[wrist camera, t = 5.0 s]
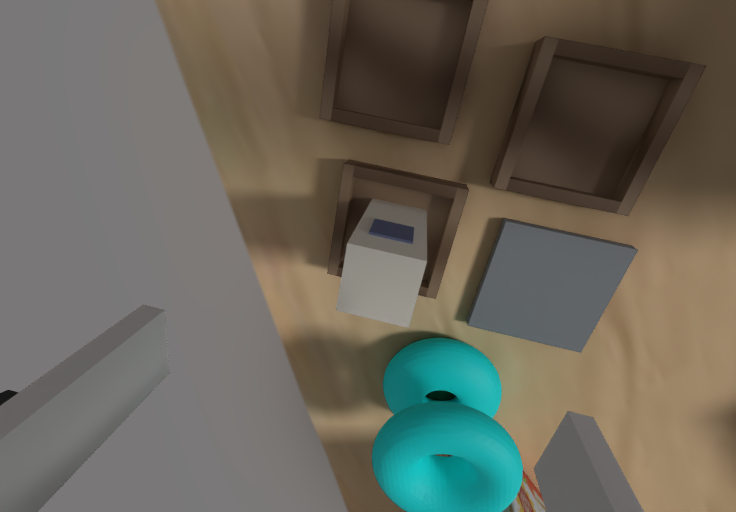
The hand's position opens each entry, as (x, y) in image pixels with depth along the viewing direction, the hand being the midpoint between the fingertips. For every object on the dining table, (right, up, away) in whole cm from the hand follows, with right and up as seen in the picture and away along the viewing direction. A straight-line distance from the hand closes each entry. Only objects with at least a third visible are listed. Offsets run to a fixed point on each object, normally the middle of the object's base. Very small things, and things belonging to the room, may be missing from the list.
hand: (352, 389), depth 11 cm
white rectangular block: (+2, +6, +15) cm, 16 cm away
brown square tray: (+14, +12, +11) cm, 21 cm away
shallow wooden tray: (+3, +17, +11) cm, 20 cm away
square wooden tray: (+3, +7, +15) cm, 17 cm away
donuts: (+7, -6, +20) cm, 23 cm away
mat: (+14, +2, +15) cm, 21 cm away
